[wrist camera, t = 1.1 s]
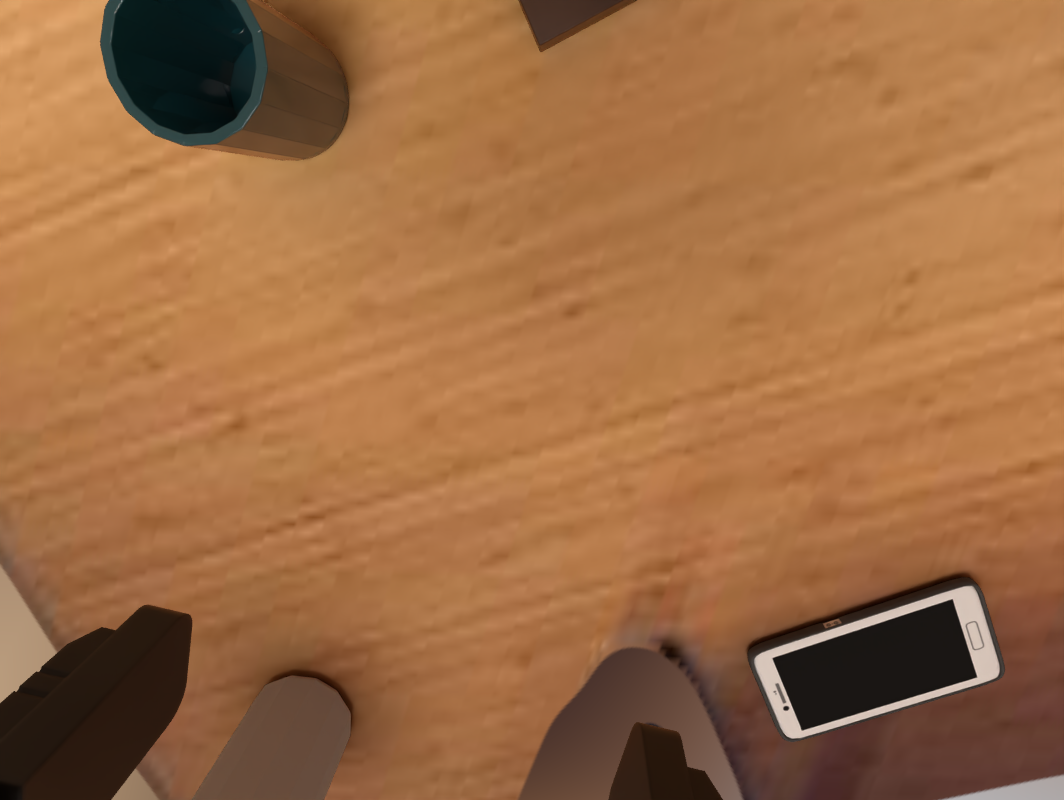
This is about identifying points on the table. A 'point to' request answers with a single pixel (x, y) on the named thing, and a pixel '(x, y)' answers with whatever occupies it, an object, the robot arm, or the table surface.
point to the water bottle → (283, 745)
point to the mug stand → (565, 17)
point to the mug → (224, 76)
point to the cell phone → (878, 660)
